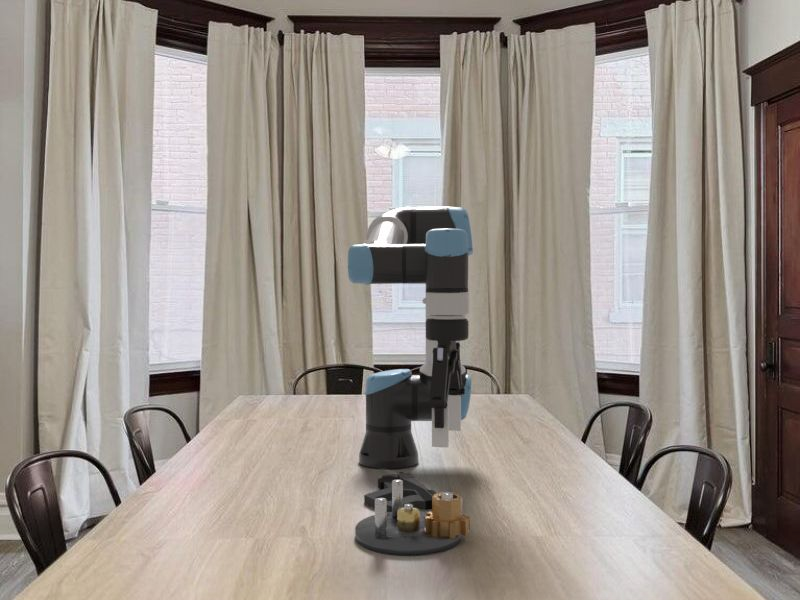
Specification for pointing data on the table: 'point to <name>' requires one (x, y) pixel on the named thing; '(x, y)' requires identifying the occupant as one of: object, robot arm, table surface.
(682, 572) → the table surface
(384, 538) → the carrier
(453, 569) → the table surface
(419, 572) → the table surface
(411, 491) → the pistol
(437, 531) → the planet gear
